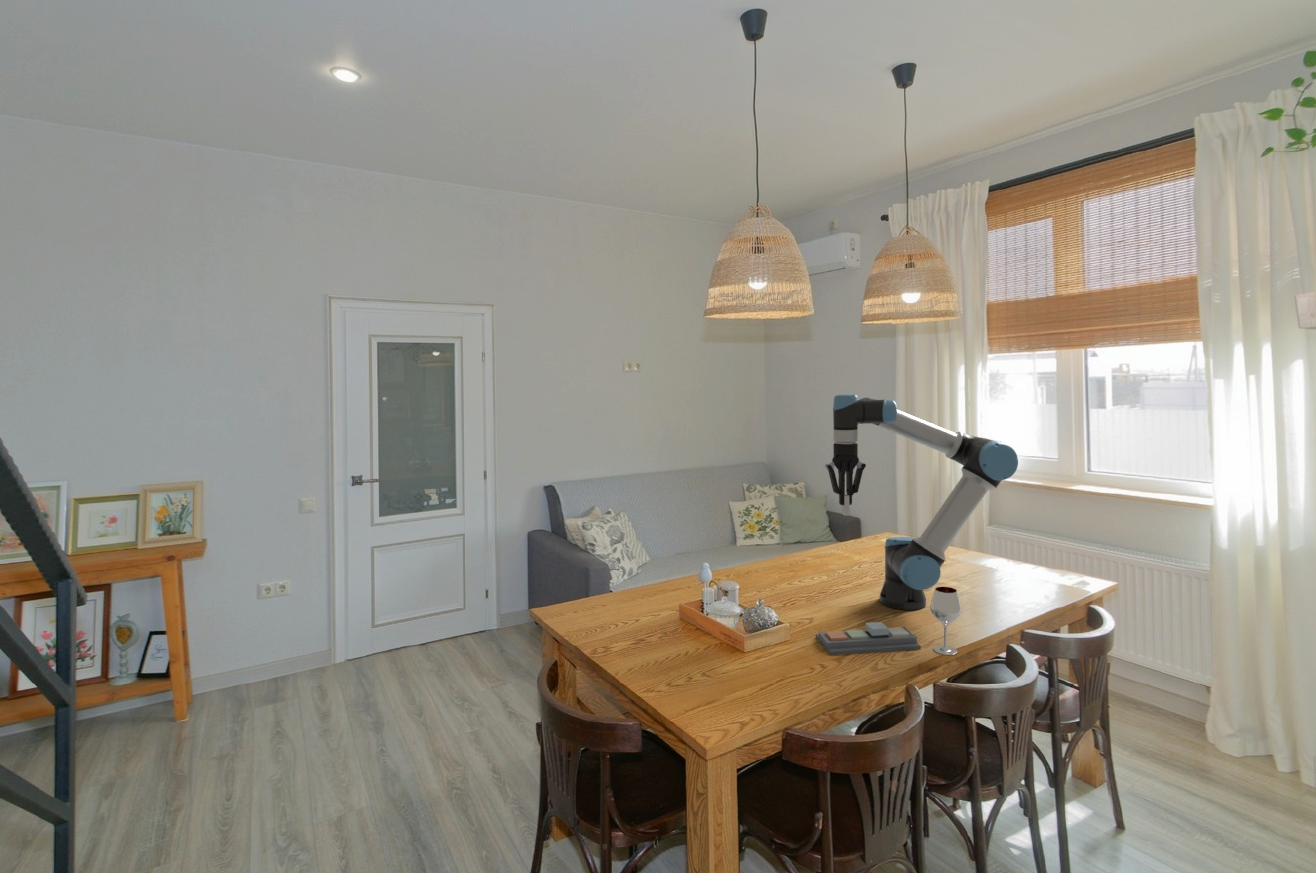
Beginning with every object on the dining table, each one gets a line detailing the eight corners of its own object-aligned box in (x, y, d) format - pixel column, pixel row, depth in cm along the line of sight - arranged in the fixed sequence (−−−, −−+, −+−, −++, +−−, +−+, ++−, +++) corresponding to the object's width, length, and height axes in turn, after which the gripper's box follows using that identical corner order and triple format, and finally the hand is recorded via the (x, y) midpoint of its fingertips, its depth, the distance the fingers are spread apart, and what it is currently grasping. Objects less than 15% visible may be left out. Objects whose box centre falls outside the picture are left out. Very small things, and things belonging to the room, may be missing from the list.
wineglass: (942, 658, 189) (943, 595, 187) (923, 646, 196) (924, 587, 195) (967, 654, 191) (968, 592, 189) (947, 643, 199) (948, 583, 197)
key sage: (861, 635, 203) (861, 629, 202) (868, 642, 198) (868, 635, 197) (845, 636, 202) (845, 630, 202) (851, 643, 197) (851, 637, 197)
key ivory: (901, 633, 204) (901, 627, 203) (909, 639, 199) (909, 633, 198) (885, 634, 203) (885, 628, 203) (892, 640, 198) (892, 634, 198)
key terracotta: (841, 637, 202) (841, 630, 202) (847, 643, 197) (847, 637, 197) (825, 638, 202) (825, 631, 201) (831, 644, 197) (831, 638, 197)
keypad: (900, 631, 208) (901, 624, 208) (920, 648, 195) (920, 640, 195) (815, 637, 206) (815, 629, 205) (830, 654, 193) (830, 646, 192)
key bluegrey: (881, 628, 203) (881, 621, 203) (888, 634, 198) (888, 628, 198) (865, 629, 203) (865, 622, 202) (872, 635, 198) (872, 629, 197)
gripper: (860, 440, 220) (860, 511, 222) (821, 442, 219) (822, 513, 221) (869, 443, 213) (869, 516, 215) (829, 444, 212) (830, 518, 214)
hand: (845, 514), depth 218 cm, fingers closed
